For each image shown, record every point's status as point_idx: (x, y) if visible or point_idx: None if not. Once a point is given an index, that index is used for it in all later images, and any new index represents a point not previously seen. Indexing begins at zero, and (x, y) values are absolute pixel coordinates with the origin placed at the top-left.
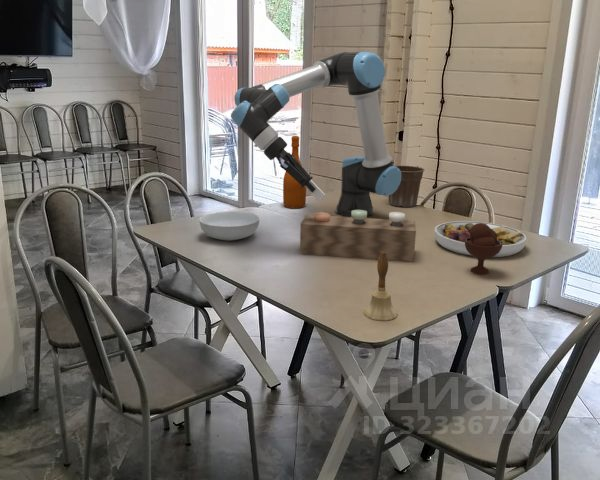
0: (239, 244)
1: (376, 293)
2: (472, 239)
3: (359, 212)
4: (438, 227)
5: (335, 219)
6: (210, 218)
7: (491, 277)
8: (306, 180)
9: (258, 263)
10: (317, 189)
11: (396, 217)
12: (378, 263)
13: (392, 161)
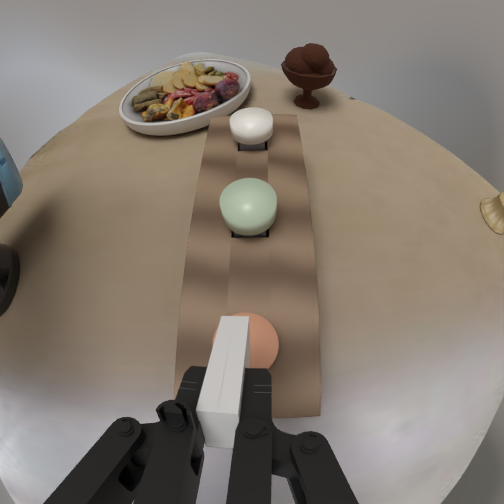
0: None
1: None
2: (312, 70)
3: (261, 197)
4: (146, 123)
5: (226, 298)
6: None
7: (324, 97)
8: (324, 437)
9: (392, 469)
10: (245, 356)
11: (272, 122)
12: None
13: None
